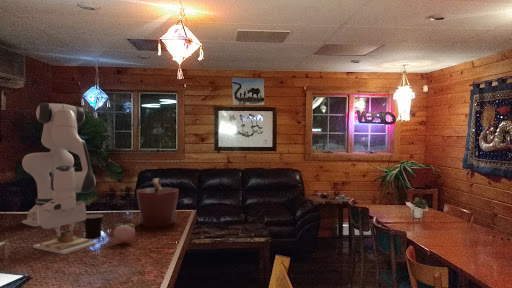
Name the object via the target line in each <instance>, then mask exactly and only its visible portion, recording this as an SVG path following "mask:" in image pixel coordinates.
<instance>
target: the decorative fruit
mask: <svg viewBox="0 0 512 288" xmlns="http://www.w3.org/2000/svg"><path fill="white" fill-rule="evenodd" d="M113 228H114V230H113V236H114V238H115V240H116V241H118V242H119V243H122V244H126V243H129V242H130V241H132V240H133V238H134V237H135V236H136V230H135V228H136V226H135V224H133V223H126V222H125V221H124V222H123V223H117V224H115V225H114V226H113Z"/></svg>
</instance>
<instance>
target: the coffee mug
mask: <svg viewBox="0 0 512 288" xmlns="http://www.w3.org/2000/svg"><path fill="white" fill-rule="evenodd" d="M103 219H104V215H103V214H100V213H99V214H96V213H95V214H86V220H84V221H83V223H84V231H85V232H84V233H85V239H90V240H92V239H93V240H95V239H99V238H101V237H102V236H101V235H102V228H103Z"/></svg>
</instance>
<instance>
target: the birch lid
mask: <svg viewBox="0 0 512 288" xmlns="http://www.w3.org/2000/svg"><path fill="white" fill-rule="evenodd" d="M60 231H61V232H63V236H57V235H56V238H53V239H51V240H46V241H42V242H39V244H40V246H43V247H48V248H53V249H57V250H64V249H68V248H71V247H75V246H78V245H81V244H85V243H88V242H90V241H91V239H88V238H84V237H80V236H79V237H78V236H74V232H68V231H67V230H60Z"/></svg>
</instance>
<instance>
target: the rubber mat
mask: <svg viewBox="0 0 512 288" xmlns="http://www.w3.org/2000/svg"><path fill="white" fill-rule="evenodd" d="M96 245H97V242H96V241H91V240H90V242H88V243H85V244H81V245H78V246H75V247H71V248H68V249H64V250H57V249H53V248H48V247H43V246H40V243H37V244H33V245H32V247H33V249H37V250H41V251H46V252H52V253H55V254H60V255H66V254H67V255H68V254H69V253H73V252H76V251H80V250H83V249H86V248H90V247H93V246H96Z"/></svg>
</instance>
